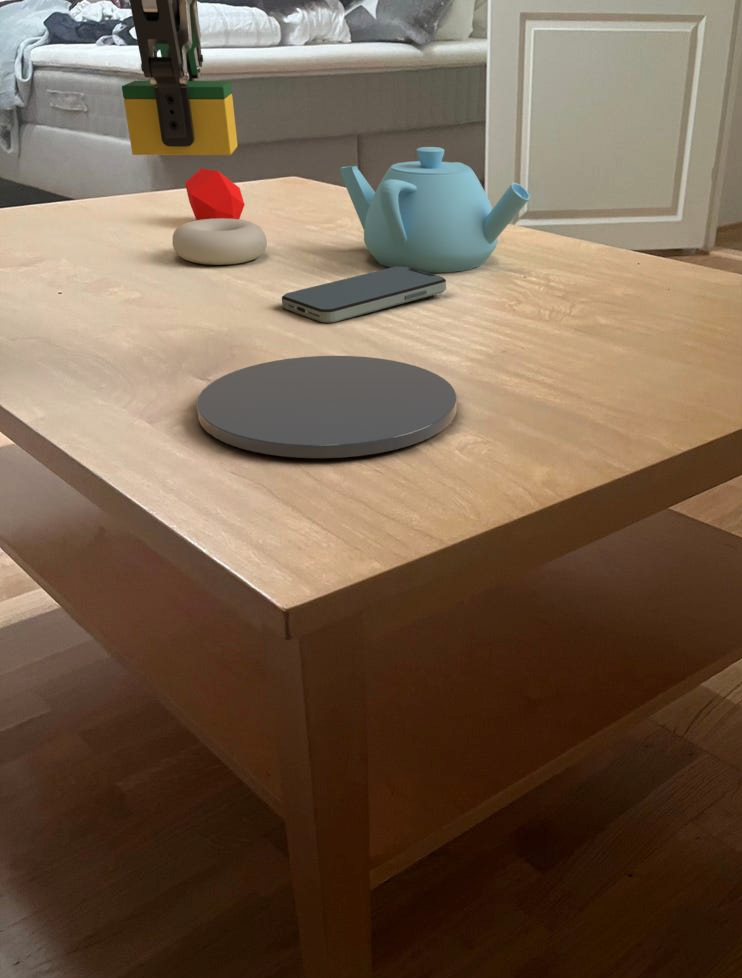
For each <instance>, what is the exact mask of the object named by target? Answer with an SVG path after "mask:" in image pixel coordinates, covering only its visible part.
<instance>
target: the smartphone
mask: <svg viewBox="0 0 742 978" xmlns="http://www.w3.org/2000/svg"><path fill="white" fill-rule="evenodd" d="M446 290H447V279H446V278H445V277H443V276H440V275H437V274H435V273H427V272H424V271H420V270H417V269H413V268H408V267H403V266H398V267H392V268H389V267H387V268H382V269H380V270H376V271H371V272H368V273H364V274H359V275H356V276H355V275H354V276H352V277H347V278H343V279H340V280H339V279H338V280H334V281H331V282H326V283H322V284H319V285H315V286H314V285H313V286H310V287H307V288H303V289H298V290H294V291H290V292H286V293H284V295H282V296H281V304H282V305H281V306H282V308H283V309H285V310H286V311H289V312H291V313H295V314H297V315H300V316H303V317H306V318H309V319H312V320H314V321H317V322H319V323H322V324H323V323H324V324H330V323H332V324H333V323H336V322H341V321H344V320H347V319H348V320H349V319H351V318H355V317H359V316H363V315H365V314H366V315H367V314H369V313H373V312H377V311H381V310H384V309H388V308H392V307H394V306H399V305H402V304H406V303H410V302H413V301H422V300H425V299H429V298H433V297H435V296H436V295H438V294H442V293H444V292H445V291H446Z"/></svg>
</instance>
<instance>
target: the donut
mask: <svg viewBox="0 0 742 978" xmlns="http://www.w3.org/2000/svg"><path fill="white" fill-rule="evenodd" d="M267 244H268V240H267V235H266V234H265V230H263V228H262V227H260V225H258V224H256V223H254V222H252V221H249V220H245V219H240V218H239V219H224V218H221V219H203V220H196V219H195V220H191V221H187V222H184V223H182V224H180V225H179V226H178V227H177V228H175V230H173V233H172V248H173V250H174V251H175V253H176V255H178V256H179V257H181V259H183V260H186V261H188V262H191V263H194V264H200V265H208V266H209V265H210V266H212V265H213V266H222V265H223V266H225V265H227V266H228V265H238V264H244V263H248V262H251V261H254V260H256V259H258V258H259V257H260V256H262V255H263V253H264V252H265V251H266V249H267V246H268V245H267Z"/></svg>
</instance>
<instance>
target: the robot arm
mask: <svg viewBox="0 0 742 978" xmlns="http://www.w3.org/2000/svg"><path fill="white" fill-rule="evenodd" d="M128 1H129V5H130V11H131V16H132V21H133V26H134V31H135V36H136V41H137V46H138V52H139V56H140V57H139V58H140V62H141V63H140V69H141V72H142V73H143V76H144V78H147V79H148V80H147V81H150V83H151V86H158V87H154V90H155V97H156V104H157V111H158V118H159V125H160V132H161V139H162V142H163V143H164V144H165V145H166V146H170V147H187V146H190V145H192V144H193V142H194V139H195V138H194V130H193V122H192V114H191V106H190V98H189V91H188V87H182V86H188V81H195V80H200V79H201V74H202V68H203V63H204V55H203V53H202V45H201V38H202V32H201V25H200V20H199V10H198V9H199V8H198V0H128ZM158 52H160V56H158Z"/></svg>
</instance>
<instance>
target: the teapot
mask: <svg viewBox="0 0 742 978" xmlns="http://www.w3.org/2000/svg"><path fill="white" fill-rule="evenodd" d="M415 150H416V155H417V158H418V160H414V161H404V162H397V163H394V164H392V165H390V166H389V168H388V169H387V170H386V172H385V174H384V175H383V177H382V178H381V181H380V182H379V184H378V186H377V188H376V190H374V189H373V188H372V186H371V185H370V184H369V182H368V181H367V179H366V178H365V177H364V175H363V174H362V172H361V171H360V170H359V167H358V165H353V166H351V165H349V166H342V167H340V168H339V169H338V170H339V173H340V176H341V178H342V181H343V183H344V186H345V188H346V190H347V192H348V195H349V198H350V200H351V203H352V205H353V207H354V210H355V212H356V215H357V217H358V219H359V222H360V224H361V227H362V229H363V241H364V245H365V248H366V249H367V250H368V251H369V253H370V255H372V257H373V258H374V259H375V260H376V261H377V262H378V263H379V264H380V265H382V266H384V267H387V268H392V267H398V266H403V267H408V268H413V269H417V270H420V271H424V272H427V273H431V274H435V273H436V274H437V273H438V274H439V273H442V274H443V273H455V272H456V273H457V272H462V271H469V270H472V269H476V268H478V267H480V266H482V265H483V264H484V263H485V262H486V261H487V260H488V259H489V258H490V256H491V255H492V254H493V252H495V250H496V248H497V245H498V237H499V236H500V235H501V234H502V233H503V231H504V230H505V229H506V228H507V227H508V225H509V224H511V222H512V221H513V219H514V218H515V217H516V216H517V215H518V214H519V212H520V211H521V210H522V209H523V208H524V207H525V205H526V204H527V203H528V202H529V201H530V199H531V195H530V193H529V192H528V191H527V189H526V188H525V187H524V186H523V185H521V184H520V183H518V182H511V184H510V186H509V187H508V188H507V189H506V190H505V192H504V193H503V195H501V197H500V199H498V201H497V202H496V203H495V205H494V206H492V204H491V201H490V199H489V197H488V196H487V193H486V191H485V189H484V187H483V185H482V183H481V182H480V180H479V178H478V176H477V175H476V173H475V172H474V170H473V169H472V168H471V166H469V165H467V164H465V163H462V162H460V161H459V162H458V161H453V162H451V161H443V158H444V155H445V151H446V150H445V149H444V148H442V147H437V146H422V147H418V148H416V149H415Z"/></svg>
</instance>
